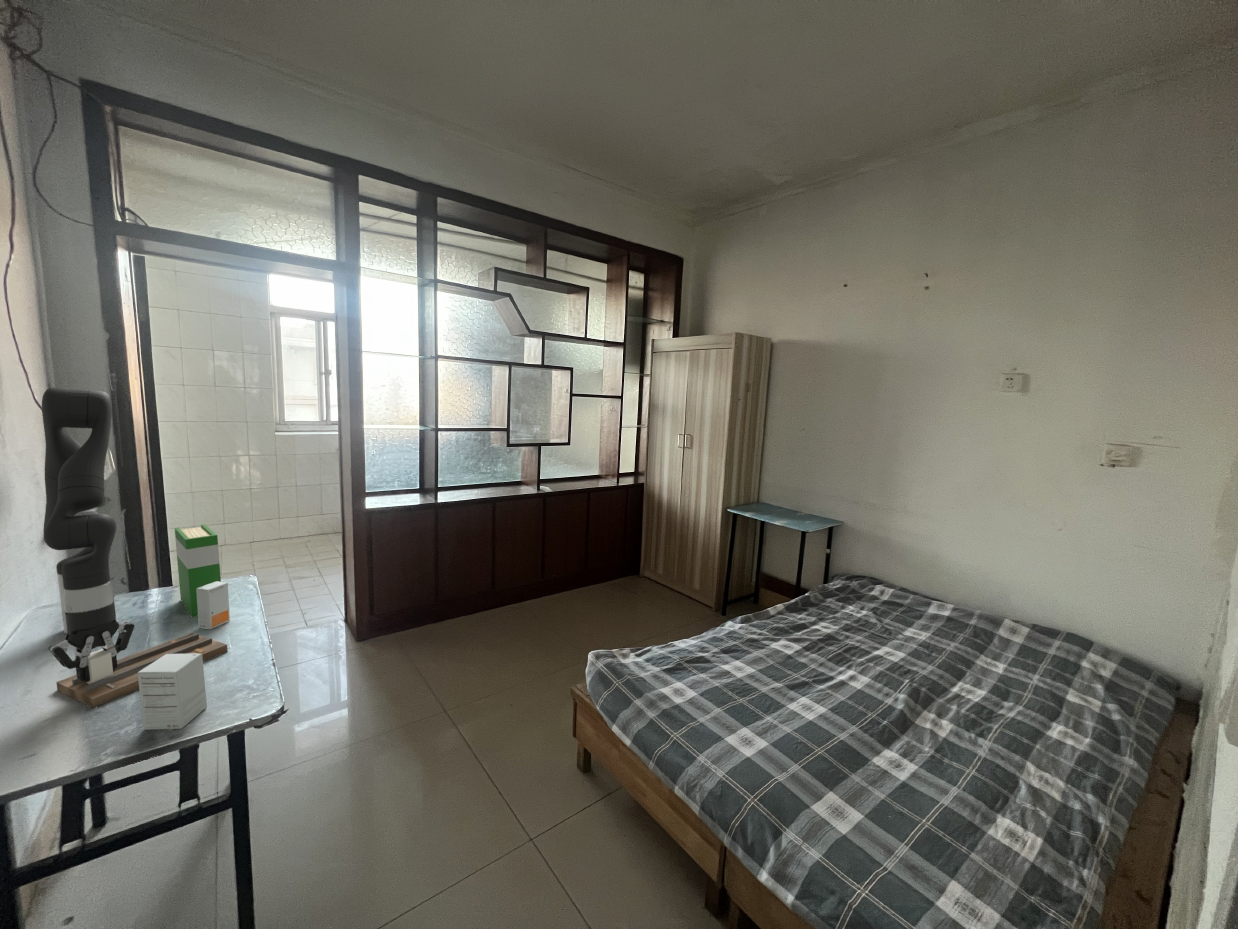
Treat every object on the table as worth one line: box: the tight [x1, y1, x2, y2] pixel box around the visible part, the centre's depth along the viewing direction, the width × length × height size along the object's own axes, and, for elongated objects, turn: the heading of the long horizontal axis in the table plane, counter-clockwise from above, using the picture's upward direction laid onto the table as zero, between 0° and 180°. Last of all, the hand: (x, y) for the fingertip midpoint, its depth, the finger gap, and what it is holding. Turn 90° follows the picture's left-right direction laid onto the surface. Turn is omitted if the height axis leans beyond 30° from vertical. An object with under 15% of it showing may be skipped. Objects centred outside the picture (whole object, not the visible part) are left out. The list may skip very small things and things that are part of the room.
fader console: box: [56, 632, 228, 708], centre depth 120 cm, size 15×26×3 cm, turn 158°
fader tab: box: [86, 648, 113, 684], centre depth 111 cm, size 4×4×6 cm
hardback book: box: [174, 523, 222, 618], centre depth 155 cm, size 18×7×24 cm, turn 49°
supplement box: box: [138, 653, 208, 731], centre depth 102 cm, size 7×7×13 cm
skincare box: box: [196, 581, 231, 630], centre depth 143 cm, size 6×4×12 cm
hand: (98, 676), depth 111 cm, fingers closed on fader tab, 3 cm apart
